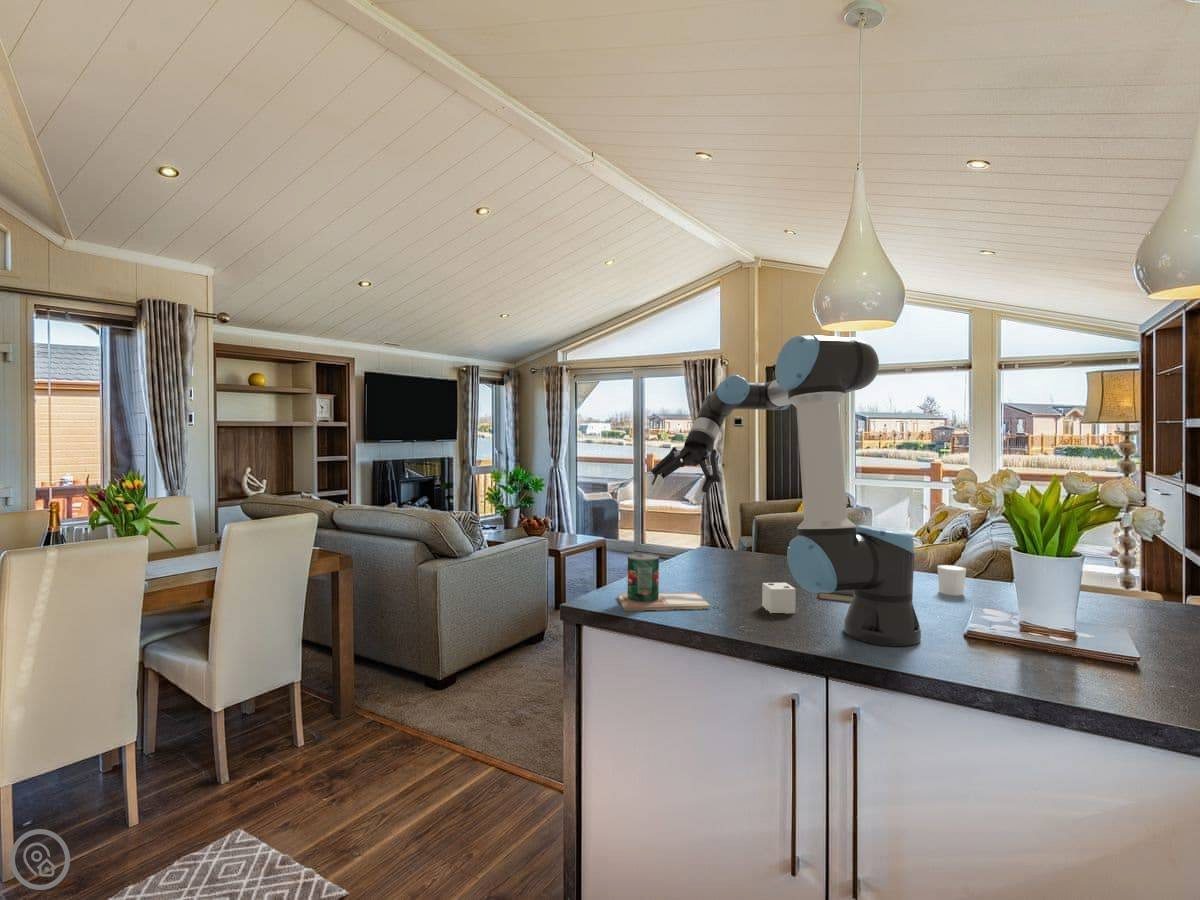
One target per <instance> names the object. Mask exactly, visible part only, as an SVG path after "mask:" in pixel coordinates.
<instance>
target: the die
mask: <svg viewBox="0 0 1200 900" xmlns="http://www.w3.org/2000/svg"><path fill="white" fill-rule="evenodd" d="M761 590H762V591H761V592H762V593H761V599H762V600H761V607H762V606H763V607H764V608H765V609H764V608H763V607H762V608H763V609H764V610H766V611H767V610H768V611H769V612H770V613H769V612H768V611H767V612H768V613H769V614H771V613H785V614H796V598H797V597H796V596H797V595H796V591H797V589H796V588H795V587H794V586H792V585H790V584H789V583H788V582H762V589H761Z"/></svg>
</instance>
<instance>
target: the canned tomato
mask: <svg viewBox="0 0 1200 900" xmlns="http://www.w3.org/2000/svg"><path fill="white" fill-rule="evenodd" d="M659 565H660V556H659V555H658V554H656V553H651V552H649V553H648V552H633V553H629V554H627V594H628V597H627V599H628V600H629V601H630V602H634V603H640V604H649V603H655V602H657V601H658V600H659V598H658V595H659V593H660V592H659V591H660V589H659V588H660V587H659V586H660V585H659V584H660V582H659V581H660V579H659V578H660V571H659V569H660V566H659Z"/></svg>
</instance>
